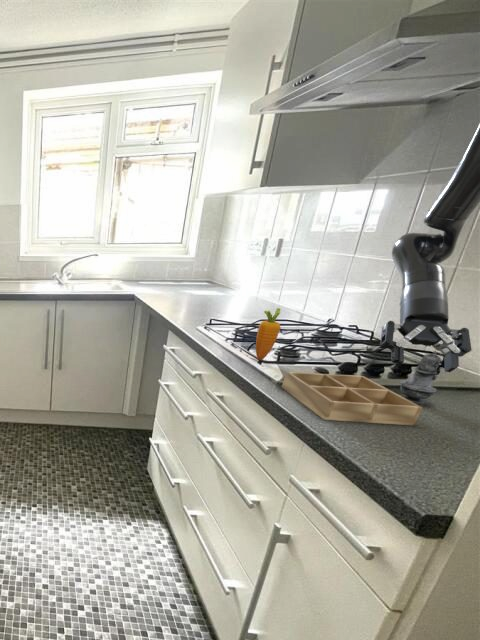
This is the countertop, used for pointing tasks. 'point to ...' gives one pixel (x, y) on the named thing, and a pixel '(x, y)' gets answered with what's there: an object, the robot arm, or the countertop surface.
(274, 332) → the carrot
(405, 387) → the grey tall piece
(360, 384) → the wooden compartment tray
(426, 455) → the countertop surface
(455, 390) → the countertop surface
